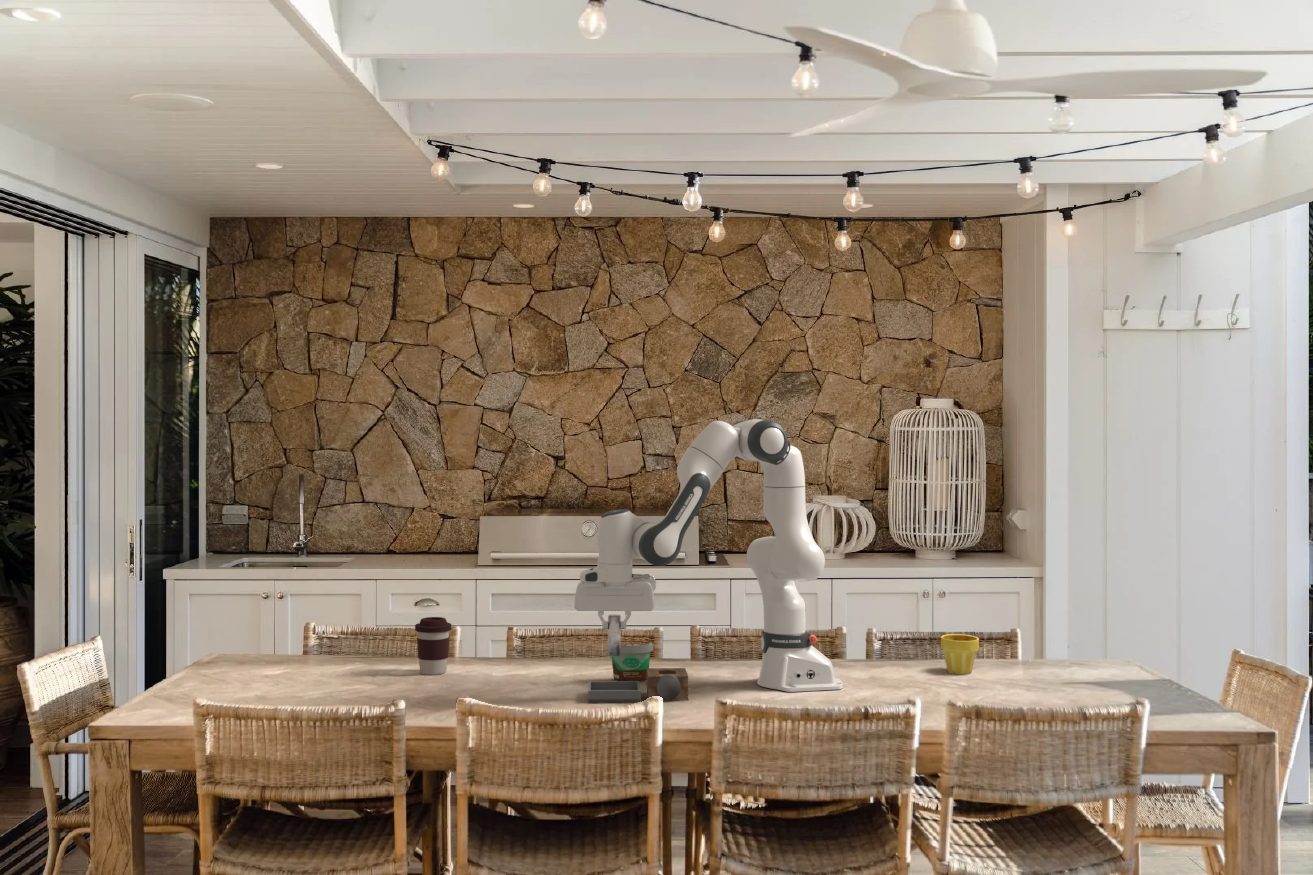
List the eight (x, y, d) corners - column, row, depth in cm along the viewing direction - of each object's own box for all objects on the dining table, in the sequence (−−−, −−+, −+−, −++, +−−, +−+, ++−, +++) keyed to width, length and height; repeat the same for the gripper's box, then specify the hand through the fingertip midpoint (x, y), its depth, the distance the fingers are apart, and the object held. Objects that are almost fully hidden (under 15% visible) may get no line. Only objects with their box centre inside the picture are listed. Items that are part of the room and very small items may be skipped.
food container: (613, 684, 319) (613, 646, 319) (608, 679, 325) (608, 642, 325) (658, 682, 323) (658, 644, 322) (652, 677, 328) (652, 640, 328)
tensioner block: (685, 691, 312) (685, 666, 312) (688, 701, 300) (688, 675, 300) (646, 691, 311) (646, 666, 311) (648, 701, 299) (648, 675, 299)
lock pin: (620, 653, 305) (620, 614, 305) (620, 656, 302) (620, 616, 302) (607, 653, 305) (607, 614, 305) (607, 656, 302) (608, 616, 302)
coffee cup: (455, 669, 337) (455, 616, 337) (445, 676, 328) (446, 621, 327) (420, 668, 338) (421, 615, 338) (410, 675, 328) (410, 621, 328)
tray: (639, 692, 309) (639, 681, 309) (640, 702, 298) (640, 690, 298) (588, 693, 309) (588, 681, 309) (588, 702, 298) (588, 690, 298)
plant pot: (969, 677, 331) (970, 641, 330) (934, 672, 337) (934, 637, 337) (984, 671, 339) (984, 636, 339) (949, 666, 345) (950, 632, 345)
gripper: (655, 572, 307) (654, 626, 307) (574, 572, 306) (574, 626, 306) (656, 575, 301) (656, 630, 301) (574, 575, 300) (574, 630, 300)
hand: (614, 628), depth 303 cm, fingers closed on lock pin, 3 cm apart
